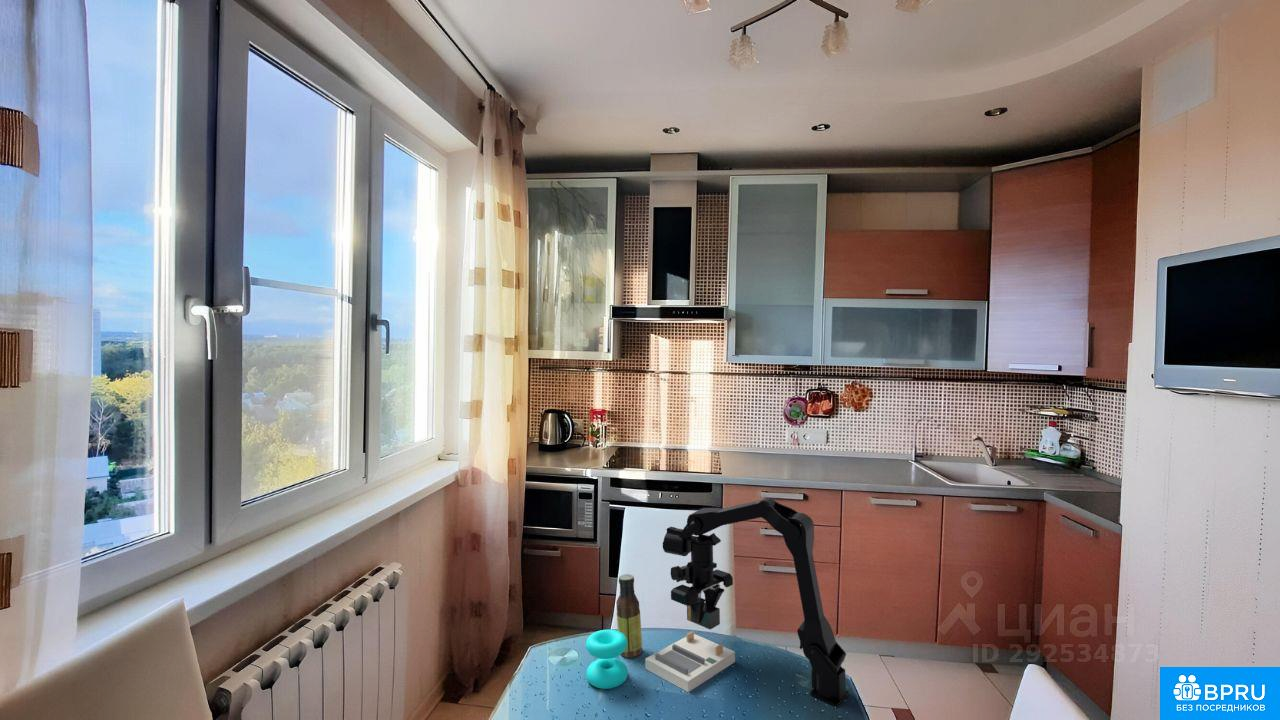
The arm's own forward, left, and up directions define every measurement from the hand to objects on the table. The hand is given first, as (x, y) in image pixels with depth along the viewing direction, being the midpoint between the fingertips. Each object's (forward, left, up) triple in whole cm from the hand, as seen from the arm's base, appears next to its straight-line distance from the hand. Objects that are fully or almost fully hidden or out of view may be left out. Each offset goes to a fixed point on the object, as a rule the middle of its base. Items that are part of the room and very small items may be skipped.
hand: (703, 619), depth 138 cm
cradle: (0, +5, -9) cm, 11 cm away
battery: (0, 0, 0) cm, 0 cm away
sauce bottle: (+15, +12, -10) cm, 22 cm away
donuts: (+10, +24, -10) cm, 28 cm away
